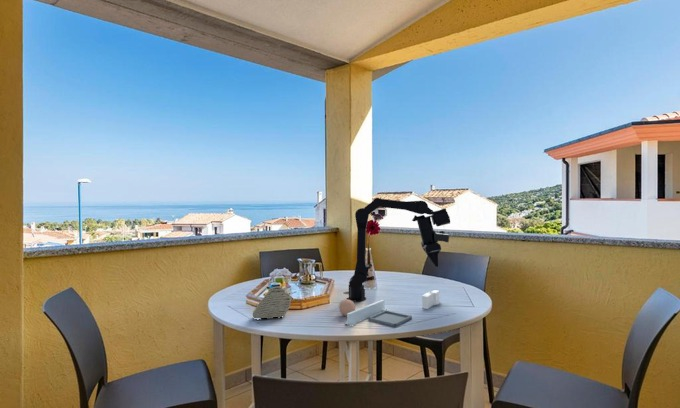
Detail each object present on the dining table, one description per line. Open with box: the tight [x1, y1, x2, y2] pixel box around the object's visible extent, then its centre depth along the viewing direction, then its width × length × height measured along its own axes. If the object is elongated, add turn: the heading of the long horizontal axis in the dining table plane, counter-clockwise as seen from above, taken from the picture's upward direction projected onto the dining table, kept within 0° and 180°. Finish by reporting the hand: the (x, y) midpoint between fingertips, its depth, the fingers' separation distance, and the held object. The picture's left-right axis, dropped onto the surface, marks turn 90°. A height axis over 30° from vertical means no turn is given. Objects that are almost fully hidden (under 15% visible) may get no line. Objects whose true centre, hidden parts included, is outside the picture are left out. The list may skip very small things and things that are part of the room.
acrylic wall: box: [344, 299, 388, 327], centre depth 130 cm, size 3×22×4 cm, turn 140°
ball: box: [338, 298, 356, 317], centre depth 132 cm, size 6×6×6 cm
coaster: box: [367, 310, 413, 328], centre depth 127 cm, size 11×11×1 cm
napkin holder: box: [421, 289, 441, 310], centre depth 144 cm, size 15×11×6 cm
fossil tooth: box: [252, 286, 293, 319], centre depth 132 cm, size 12×6×15 cm
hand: (435, 264), depth 151 cm, fingers open, 9 cm apart
